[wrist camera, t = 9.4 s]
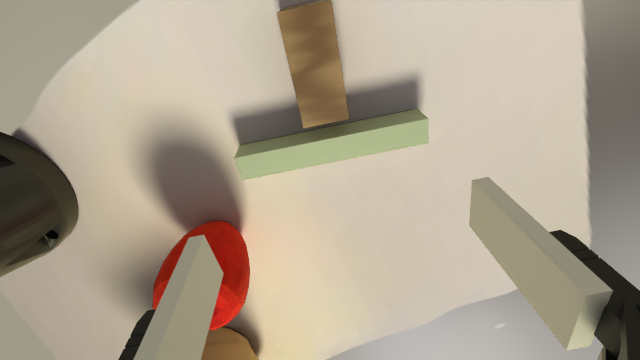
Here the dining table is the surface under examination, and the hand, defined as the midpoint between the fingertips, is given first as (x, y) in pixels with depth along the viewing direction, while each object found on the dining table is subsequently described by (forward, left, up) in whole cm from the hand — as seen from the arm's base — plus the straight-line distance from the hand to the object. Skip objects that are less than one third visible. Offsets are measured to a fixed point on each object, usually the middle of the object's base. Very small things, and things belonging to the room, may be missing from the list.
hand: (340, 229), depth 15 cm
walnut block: (0, +1, -16) cm, 16 cm away
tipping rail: (0, -2, -17) cm, 17 cm away
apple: (-15, -12, -18) cm, 26 cm away
